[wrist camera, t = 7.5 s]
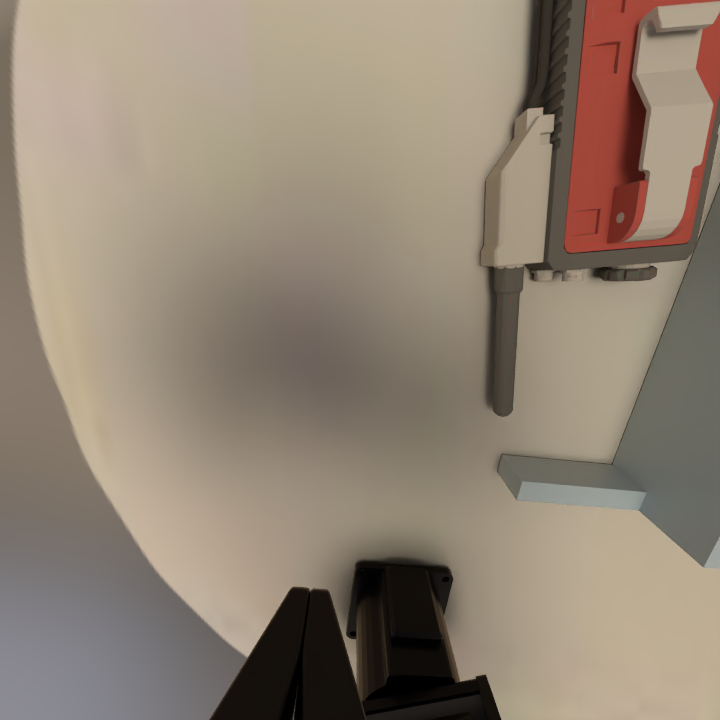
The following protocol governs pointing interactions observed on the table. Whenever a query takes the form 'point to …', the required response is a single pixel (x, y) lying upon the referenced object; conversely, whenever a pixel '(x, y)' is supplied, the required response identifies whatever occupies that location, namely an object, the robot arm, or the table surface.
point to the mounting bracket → (659, 427)
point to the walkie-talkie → (603, 152)
